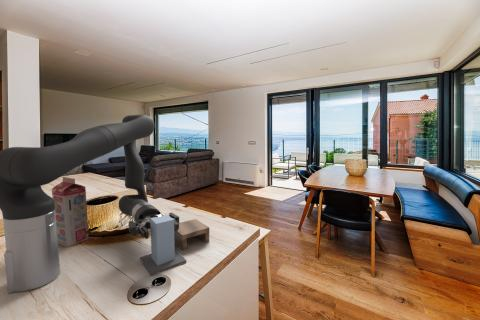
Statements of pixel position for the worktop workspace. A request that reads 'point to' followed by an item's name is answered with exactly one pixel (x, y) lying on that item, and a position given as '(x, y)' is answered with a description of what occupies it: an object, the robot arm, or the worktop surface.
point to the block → (162, 239)
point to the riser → (190, 232)
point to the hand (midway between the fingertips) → (163, 231)
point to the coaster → (155, 268)
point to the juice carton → (70, 212)
